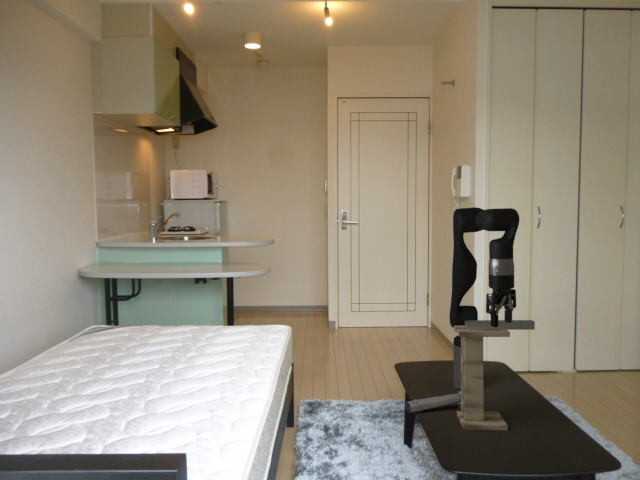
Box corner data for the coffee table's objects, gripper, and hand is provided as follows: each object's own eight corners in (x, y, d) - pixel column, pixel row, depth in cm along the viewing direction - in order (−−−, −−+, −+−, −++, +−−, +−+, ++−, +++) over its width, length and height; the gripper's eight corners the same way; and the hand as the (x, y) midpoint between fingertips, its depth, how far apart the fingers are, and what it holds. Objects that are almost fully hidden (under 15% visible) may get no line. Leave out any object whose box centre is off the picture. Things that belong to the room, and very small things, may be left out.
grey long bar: (464, 327, 168) (464, 320, 168) (531, 327, 166) (531, 320, 166) (466, 329, 166) (466, 322, 165) (534, 329, 164) (534, 321, 164)
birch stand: (453, 414, 175) (453, 324, 173) (500, 415, 173) (500, 324, 172) (460, 429, 163) (460, 333, 161) (511, 430, 161) (510, 333, 160)
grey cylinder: (404, 399, 180) (467, 384, 184) (406, 417, 181) (470, 402, 185) (409, 404, 175) (474, 389, 179) (411, 422, 176) (477, 407, 179)
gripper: (501, 270, 162) (501, 319, 162) (478, 274, 152) (478, 326, 153) (523, 271, 156) (524, 322, 157) (500, 275, 147) (501, 330, 147)
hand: (501, 324), depth 155 cm, fingers open, 8 cm apart
